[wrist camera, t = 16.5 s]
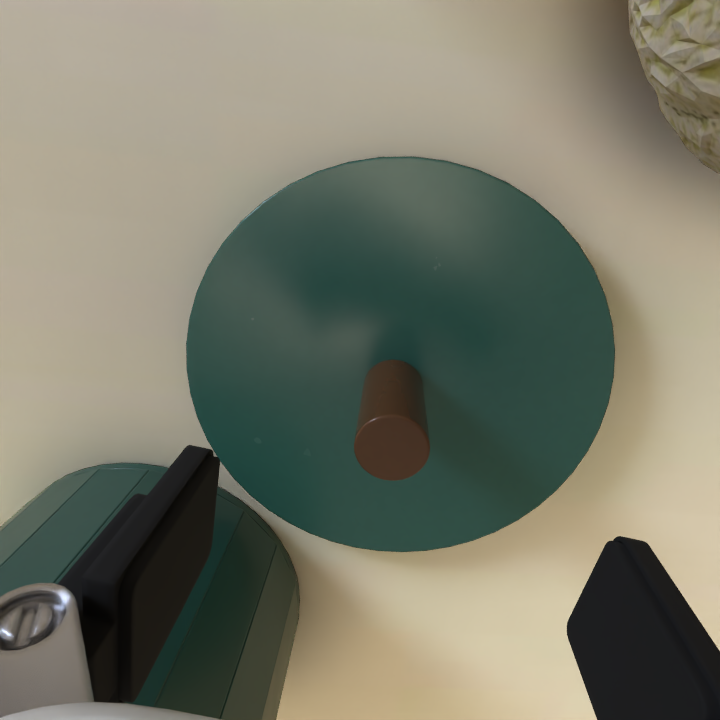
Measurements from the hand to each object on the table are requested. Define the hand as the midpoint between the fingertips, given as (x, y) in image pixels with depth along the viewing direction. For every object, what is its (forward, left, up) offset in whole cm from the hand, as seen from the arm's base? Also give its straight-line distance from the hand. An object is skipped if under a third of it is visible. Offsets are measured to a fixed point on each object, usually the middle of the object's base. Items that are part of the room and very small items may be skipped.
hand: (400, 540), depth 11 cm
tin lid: (0, 0, -9) cm, 9 cm away
